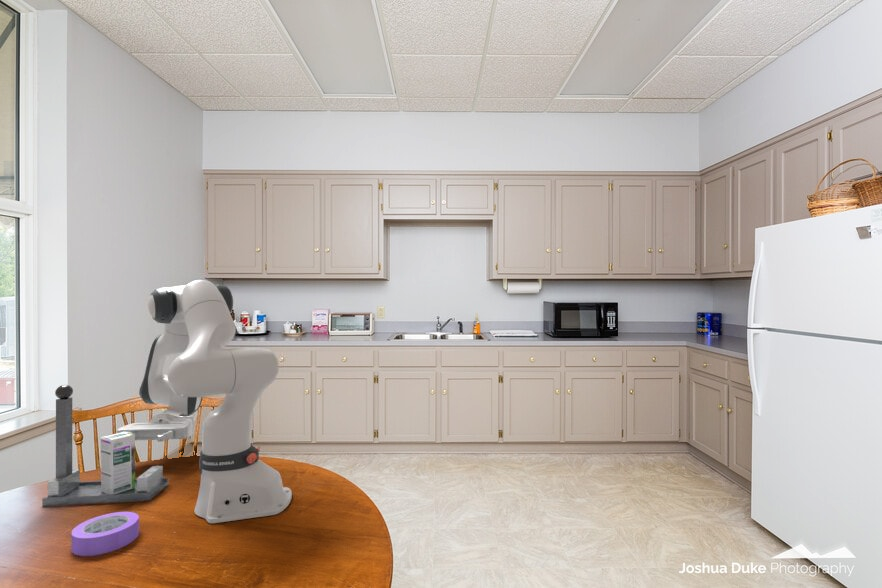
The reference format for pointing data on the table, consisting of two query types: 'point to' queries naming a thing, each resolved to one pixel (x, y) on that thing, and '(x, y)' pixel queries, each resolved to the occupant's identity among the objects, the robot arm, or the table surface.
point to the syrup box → (117, 463)
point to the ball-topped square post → (64, 446)
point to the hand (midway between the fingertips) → (142, 439)
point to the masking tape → (104, 533)
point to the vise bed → (91, 493)
